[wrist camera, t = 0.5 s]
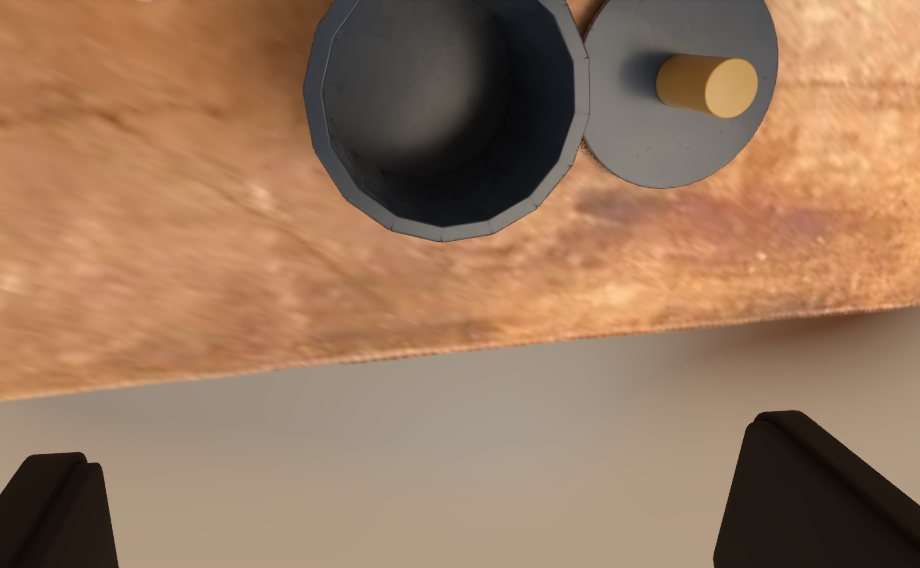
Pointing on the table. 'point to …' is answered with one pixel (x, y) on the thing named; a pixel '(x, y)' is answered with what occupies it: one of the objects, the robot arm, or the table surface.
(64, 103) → the table surface
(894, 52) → the table surface
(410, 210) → the tin
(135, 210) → the table surface
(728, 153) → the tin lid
